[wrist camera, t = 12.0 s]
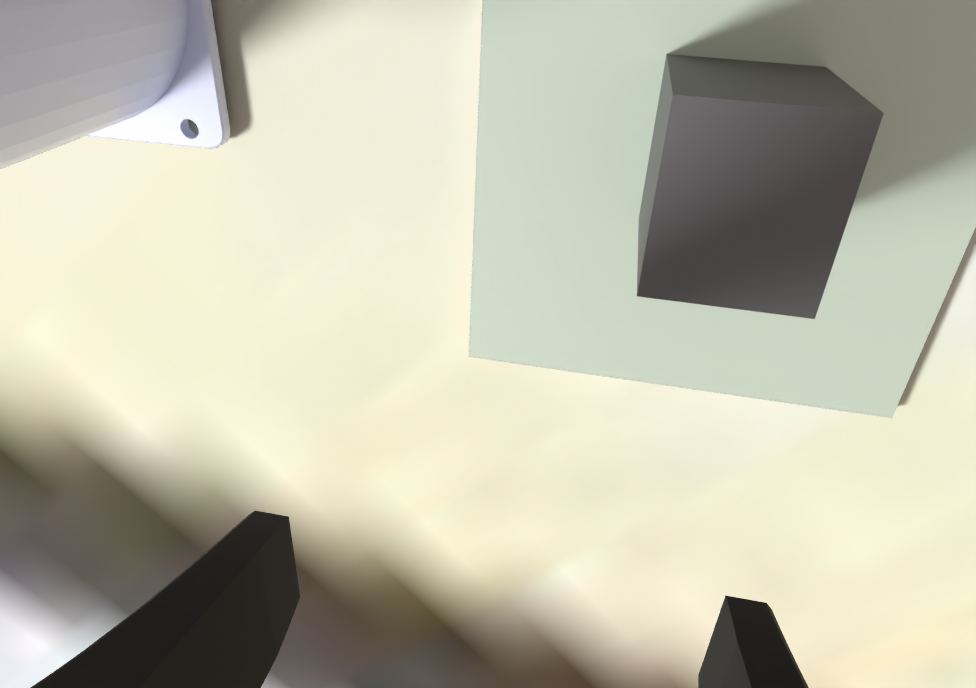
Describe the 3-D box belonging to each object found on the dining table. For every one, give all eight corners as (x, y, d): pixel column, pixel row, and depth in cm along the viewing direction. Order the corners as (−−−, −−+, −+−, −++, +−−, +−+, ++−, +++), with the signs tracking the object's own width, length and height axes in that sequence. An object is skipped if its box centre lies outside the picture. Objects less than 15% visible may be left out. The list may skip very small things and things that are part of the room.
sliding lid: (475, 340, 22) (430, 450, 18) (500, -222, 15) (434, -286, 10) (881, 397, 21) (950, 535, 16) (1135, -204, 13) (1398, -271, 9)
